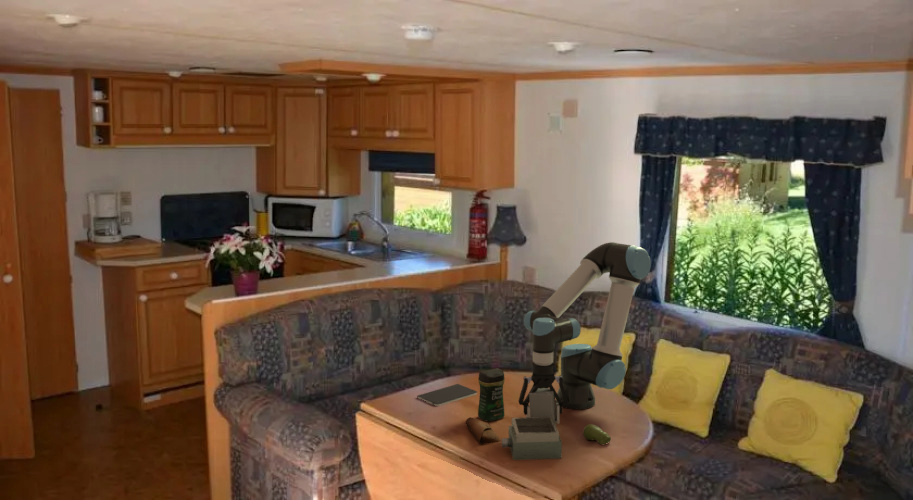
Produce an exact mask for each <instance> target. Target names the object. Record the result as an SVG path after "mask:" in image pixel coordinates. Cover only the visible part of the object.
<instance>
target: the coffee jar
mask: <svg viewBox="0 0 913 500" xmlns="http://www.w3.org/2000/svg"><path fill="white" fill-rule="evenodd" d="M477 379H478V385H479V398H478V399H479V400H478V402H479V403H478V408H477V409H478V411H477V416H478V418H479V420H481V421H484V422H485V421H486V422H493V421H497V420H501V419H503V418H504V417H505V404H504V384H505V381H506V379H505V372H504V370H502V369H500V368H499V367H498V368H497V367H496V368H493V369H488V370H481V371H479V372H478V378H477Z"/></svg>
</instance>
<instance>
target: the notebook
mask: <svg viewBox="0 0 913 500" xmlns="http://www.w3.org/2000/svg"><path fill="white" fill-rule="evenodd" d="M477 393H478V391H476V390H475V389H472V388H470V387H467V386H464V385H461V384H459V383H457V384H452V385H449V386H446V387H443V388H439V389H435V390H431V391H429V392H424V393H421V394H419V395H416V397H417V398H416V399H419V400H421V399H422V400H421V401H423V400H424V401H423V402H425V401H426V402H425V403H427V404H430V405H432V406H434V405H435V407H440V406H441V407H442V406H443V405H447V404H450V402H451V403H453V401H454V402H458V401H459V400H463V399H466V398H470V397H473V396H476V395H477Z"/></svg>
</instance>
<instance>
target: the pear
mask: <svg viewBox="0 0 913 500" xmlns="http://www.w3.org/2000/svg"><path fill="white" fill-rule="evenodd" d="M582 433H583V436H584V438H585V439H586V440H589V441H597V443H598V444H599V445H601V444H606V443H608V442H609V443H610V441H612V437H611V436H610V435H609V433H607V432H606V431H604V430H603V429H602V428H601V427H599V426H598V425H595V424H587V425H586V426H584V428H583V431H582ZM609 443H608V444H609ZM606 445H607V444H606Z"/></svg>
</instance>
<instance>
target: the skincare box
mask: <svg viewBox="0 0 913 500" xmlns="http://www.w3.org/2000/svg"><path fill="white" fill-rule="evenodd" d="M529 392H530V391H529ZM529 392H528V393H529ZM529 406H530V417H552V418H553V420H554V422H555V425H556V426H557V422H556V398H555V396H554V392H553V391H551V390H550V388H541V389H539V388H538V389H537V391H536V392H534V393H531V392H530V393H529Z"/></svg>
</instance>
